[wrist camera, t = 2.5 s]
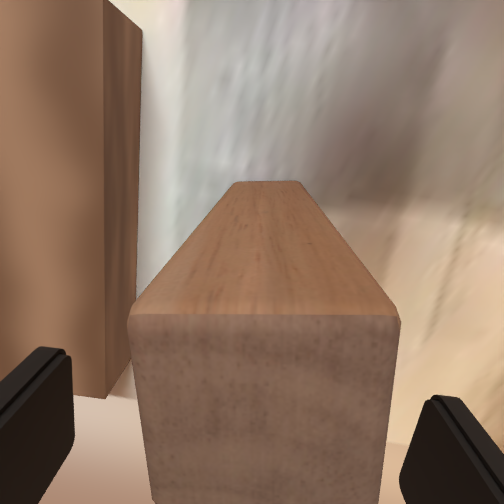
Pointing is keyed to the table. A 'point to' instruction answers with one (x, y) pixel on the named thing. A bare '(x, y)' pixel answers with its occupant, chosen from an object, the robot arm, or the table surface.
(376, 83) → the table surface
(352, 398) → the wooden block
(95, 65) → the walnut shelf
